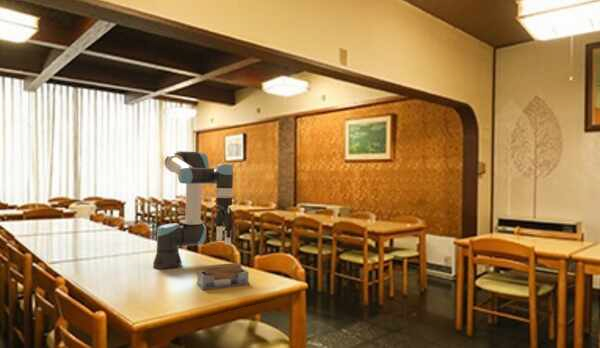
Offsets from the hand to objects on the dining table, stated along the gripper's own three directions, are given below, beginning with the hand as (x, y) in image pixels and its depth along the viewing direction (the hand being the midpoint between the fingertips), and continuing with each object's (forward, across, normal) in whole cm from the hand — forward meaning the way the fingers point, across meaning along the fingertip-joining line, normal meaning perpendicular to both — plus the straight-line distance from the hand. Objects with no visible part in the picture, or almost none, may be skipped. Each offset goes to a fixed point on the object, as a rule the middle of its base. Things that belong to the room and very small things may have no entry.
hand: (223, 242), depth 187 cm
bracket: (+20, 0, 0) cm, 20 cm away
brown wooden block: (+17, 0, 0) cm, 17 cm away
